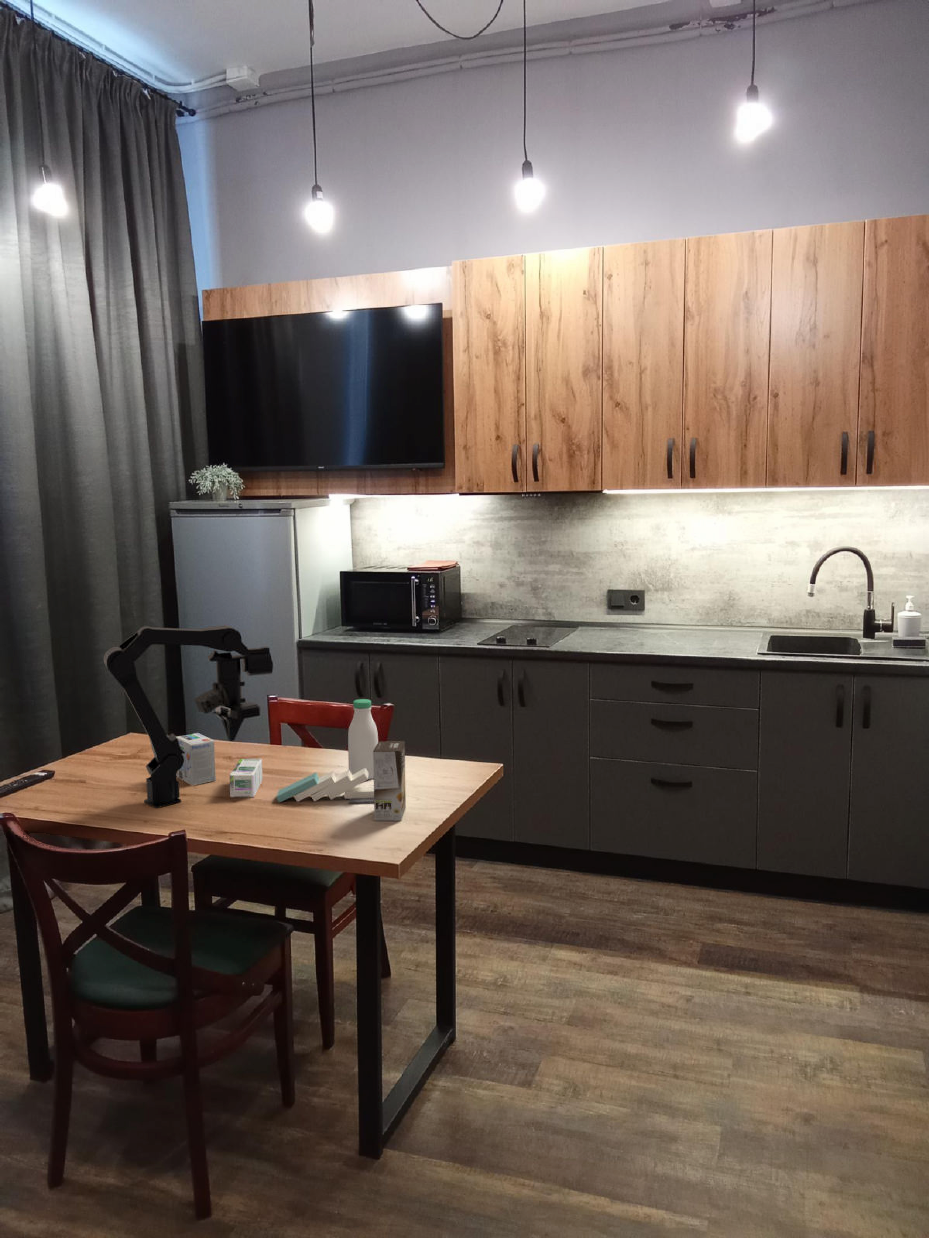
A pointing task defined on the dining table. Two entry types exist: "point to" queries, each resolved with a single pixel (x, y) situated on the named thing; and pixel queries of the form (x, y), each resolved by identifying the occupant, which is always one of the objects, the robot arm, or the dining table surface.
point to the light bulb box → (197, 759)
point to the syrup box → (246, 778)
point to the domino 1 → (297, 787)
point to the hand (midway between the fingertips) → (231, 740)
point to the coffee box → (389, 781)
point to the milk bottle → (362, 738)
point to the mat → (361, 800)
